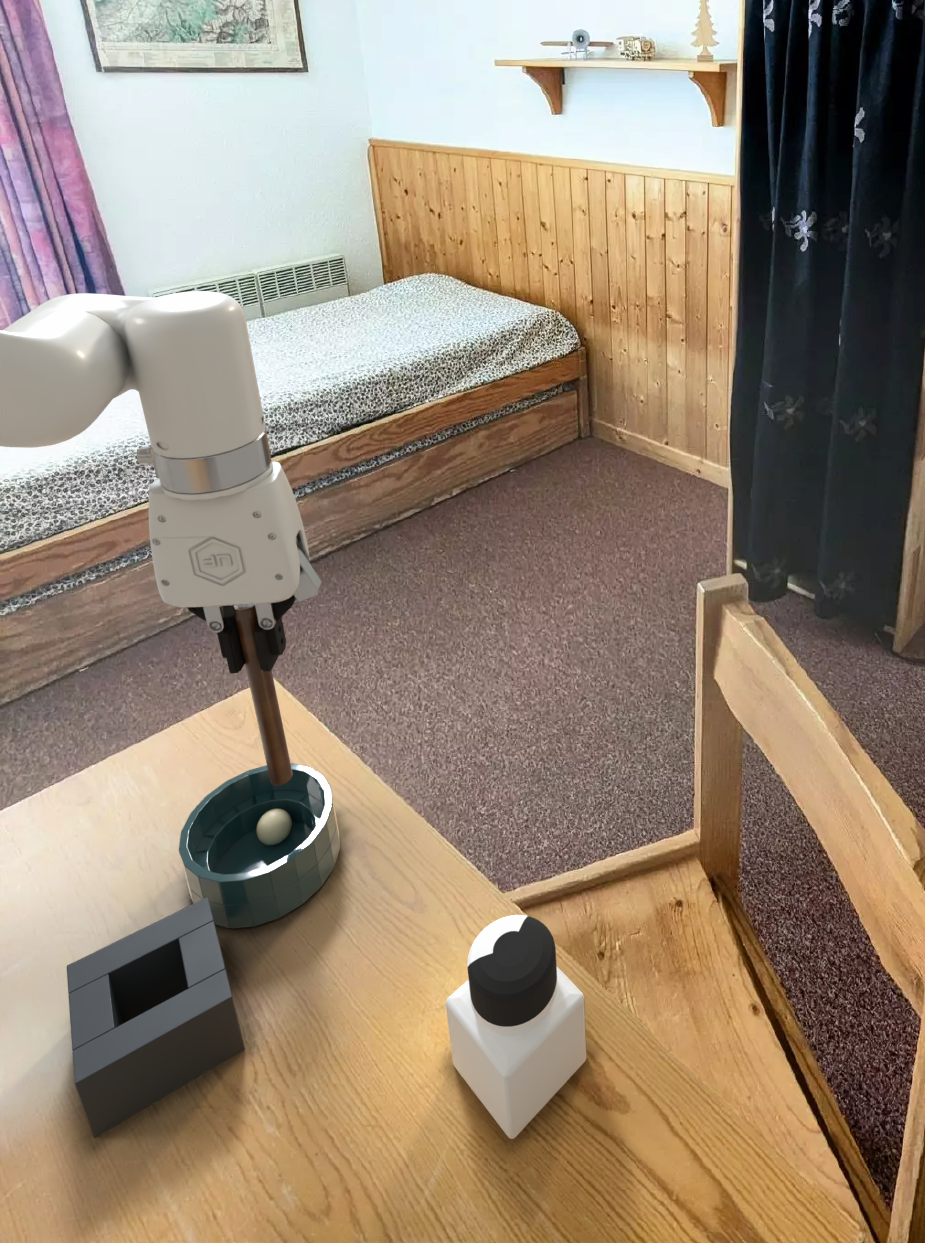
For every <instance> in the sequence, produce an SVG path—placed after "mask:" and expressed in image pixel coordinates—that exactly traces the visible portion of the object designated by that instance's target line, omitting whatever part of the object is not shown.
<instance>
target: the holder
mask: <svg viewBox="0 0 925 1243" xmlns="http://www.w3.org/2000/svg"><path fill="white" fill-rule="evenodd" d="M216 926H217V925H215V922H214V918H213V914H212V910H211V906H210V902H209V898H208V897H206V898H204V899H202V900H200V901H198V902H196V903H194V904H193V903H192V904H190V905H187V906H186V907H184V908H182V909H179V910H177V911H176V912H174V913H171V914H169V915H168V916H165V917H163V918H161V919H159V920H157V921H155V922H153V923H151V924H149V925H147V926H145V927H143V928H141V929H138V930H137V931H135V932H132V933H131V934H128V935H126V936H125V937H122V938H121V939H118V940H116V941H114V942H112V943H110V944H108V945H106V946H104V947H102V948H100V949H98V950H96V951H93V952H92V953H89V954H88V955H86V956H84V957H81V958H80V959H77V960H75V961H73V962H71V963H69V964H67V965H66V978H67V994H68V1011H69V1022H70V1038H71V1051H72V1065H73V1066H72V1067H73V1079H74V1080H73V1081H74V1086H75V1089H76V1092H77V1094H78V1097H79V1100H80V1103H81V1106H82V1108H83V1111H84V1113H85V1116H86V1119H87V1122H88V1125H89V1128H90V1130H91V1133H92V1136H93V1138H94V1139H96V1138H98V1137H99V1136H101V1135H102V1134H104V1133H106V1132H108V1131H110V1130H111V1129H113V1128H114V1127H116V1126H118V1125H120V1124H122V1123H123V1122H125V1121H126V1120H129V1119H130V1118H132V1117H133V1116H135V1115H136V1114H138V1113H140V1112H142V1111H143V1110H145V1109H146V1108H148V1107H150V1106H152V1105H154V1104H155V1103H157V1102H159V1101H161V1100H162V1099H164V1098H166V1097H167V1096H169V1095H170V1094H172V1093H174V1092H176V1091H177V1090H179V1089H180V1088H182V1087H184V1086H186V1085H187V1084H189V1083H191V1082H192V1081H194V1080H196V1079H197V1078H199V1077H202V1075H205V1074H206V1073H208V1072H210V1071H211V1070H213V1069H214V1068H216V1067H218V1066H219V1065H221V1064H223V1063H224V1062H226V1061H228V1060H230V1059H231V1058H233V1057H235V1056H237V1055H238V1054H240V1053H241V1052H244V1051H245V1050H246V1046H245V1041H244V1038H243V1034H242V1030H241V1026H240V1022H239V1017H238V1014H237V1009H236V1005H235V1000H234V997H233V992H232V989H231V984H230V980H229V976H228V975H229V974H228V971H227V967H226V964H225V959H224V956H223V951H222V947H221V943H220V938H219V935H218V931H217V927H216Z"/></svg>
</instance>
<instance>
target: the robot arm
mask: <svg viewBox="0 0 925 1243" xmlns="http://www.w3.org/2000/svg"><path fill="white" fill-rule="evenodd" d="M249 335H250V334H249V329H248V324H247V320H246V316H245V311H244V309H243V307H242V305H241V304H240V302H238V301H237V300H236V299H235V298H234V297H232V296H231V295H229V294H227V293H223V292H217V291H210V290H192V291H182V292H173V293H168V294H163V295H160V296H156V297H154V296H136V295H135V296H133V295H132V296H131V295H118V294H107V293H89V292H87V293H85V292H84V293H83V292H82V293H81V292H80V293H70V294H63V295H59V296H56V297H54V298H50V299H48V300H46V301H45V302H43V303H41V304H39V305H38V306H37V307H35V308H33V309H32V310H31V311H29V312H27V313H26V314H25V315H23V316H22V317H20V318H18V319H17V320H15V321H13V323H11V324H10V325H8V326H7V327H5V328H4V329H3V330H1V329H0V447H4V448H25V449H27V448H28V449H29V448H42V447H48V446H49V447H50V446H54V445H57V444H61V443H63V442H67V441H69V440H71V439H73V438H75V437H76V436H78V435H80V434H82V433H83V432H85V431H86V430H87V429H88V428H89V427H90V426H91V425H92V424H93V423H94V422H95V421H96V420H98V418H99V417H100V416H101V414H102V413H103V412H104V411H105V410H106V409H107V407H108V406H109V405H110V404H111V402H112V401H113V400H114V399H116V398H118V397H119V396H121V395H123V394H125V393H126V392H128V391H129V390H131V391H132V390H133V391H134V390H135V391H136V392H138V395H139V399H140V403H141V408H142V412H143V416H144V420H145V425H146V430H147V432H148V437H149V440H150V445H149V446H140V447H139V448H138V449H137V452H136V461H137V463H138V465H140V466H149V467H153V468H154V472H155V475H156V479H155V480H154V481H153V482H152V483H151V484H150V486H149V490H148V533H149V543H150V544H149V545H150V550H151V559H152V564H153V565H152V566H153V571H154V577H155V582H156V586H157V590H158V593H159V600H160V602H161V603H162V604H165V605H167V606H172V607H176V608H180V609H184V610H185V609H187V610H188V611H189V612H190V613H191V614H193V615H195V616H197V617H198V618H200V619H201V620H203V621H204V622H206V625H207V628H208V630H209V631H211V632H212V633H216V635H217V639H218V644H219V648H220V652H221V656H222V658H223V659H226V662H227V668H228V671H229V674H238V673H239V672H241V671H242V670H243V668H244V666H245V662H244V657H243V653H242V648H241V643H240V639H239V634H238V630H237V625H236V620H235V616H234V611H233V605H249V604H255V607H256V613H257V618H258V620H257V621H258V625H257V627H256V629H255V631H254V640H255V644H256V649H257V654H258V659H259V663H260V668H261V670H263V672H267V671H271V670H272V671H273V668H274V666H275V664H276V662H277V660H278V658H279V657H280V656H282V655H284V652H285V650H286V648H287V638H286V633H285V628H284V622H283V616H284V615H285V614H287V612H288V611H289V610H290V609H291V608H292V607H293V605H295V604H301V603H302V602H305V601H307V600H310V599H313V598H315V597H317V596H318V594H319V593H320V591H321V589H322V586H323V584H324V582H323V580H322V579H321V577H320V575H319V574H318V572H317V571H316V569H315V568H314V567H313V565H312V563H311V561H310V550H309V544H308V540H307V535H306V531H305V527H304V522H303V519H302V516H301V512H300V509H299V506H298V503H297V499H296V497H295V494H294V492H293V489H292V486H291V483H290V482H289V479H288V477H287V475H286V472H285V471H284V468H283V467H282V465H281V463H280V462H279V461H273V459H272V454H271V449H270V444H269V438H268V433H267V427H266V422H265V417H264V412H263V411H264V410H263V405H262V400H261V395H260V390H259V384H258V378H257V373H256V368H255V361H254V357H253V356H254V355H253V351H252V346H251V341H250V336H249Z"/></svg>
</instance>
